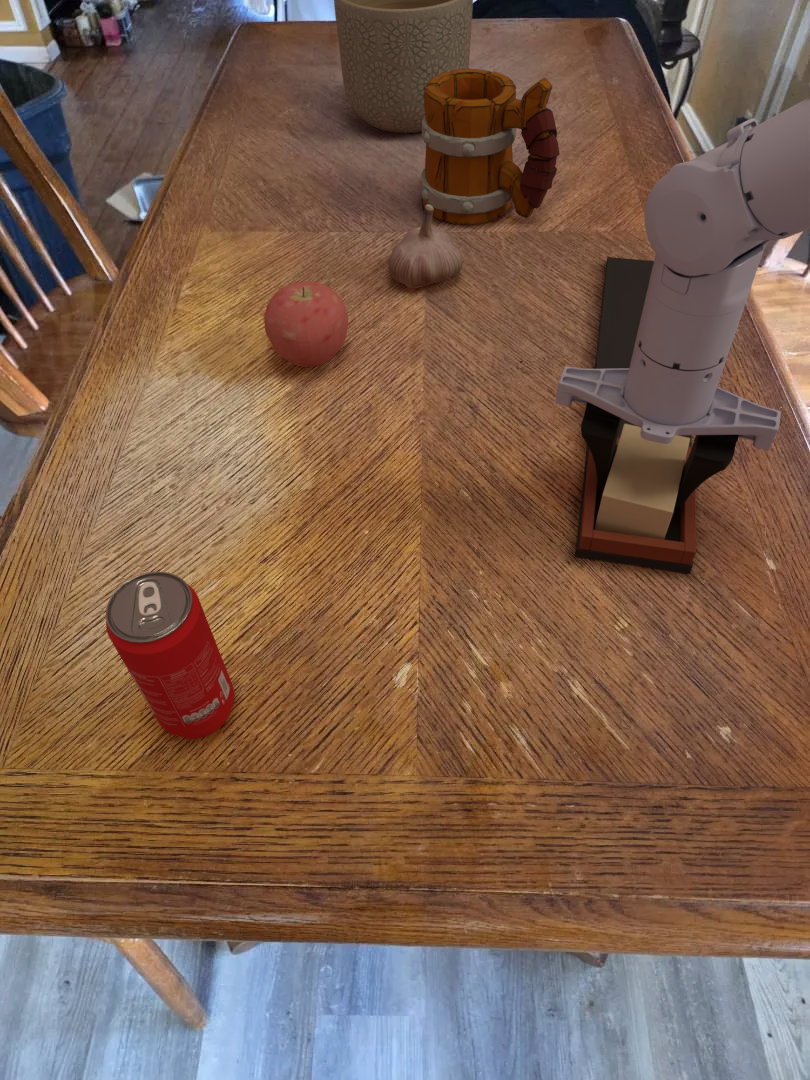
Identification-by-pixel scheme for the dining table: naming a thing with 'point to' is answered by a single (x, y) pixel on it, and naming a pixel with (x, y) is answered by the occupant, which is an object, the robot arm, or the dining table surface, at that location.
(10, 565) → the dining table surface
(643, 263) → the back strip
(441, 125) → the mug
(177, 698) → the beverage can
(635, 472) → the foam pad
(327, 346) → the apple
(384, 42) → the planter
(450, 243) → the garlic bulb
